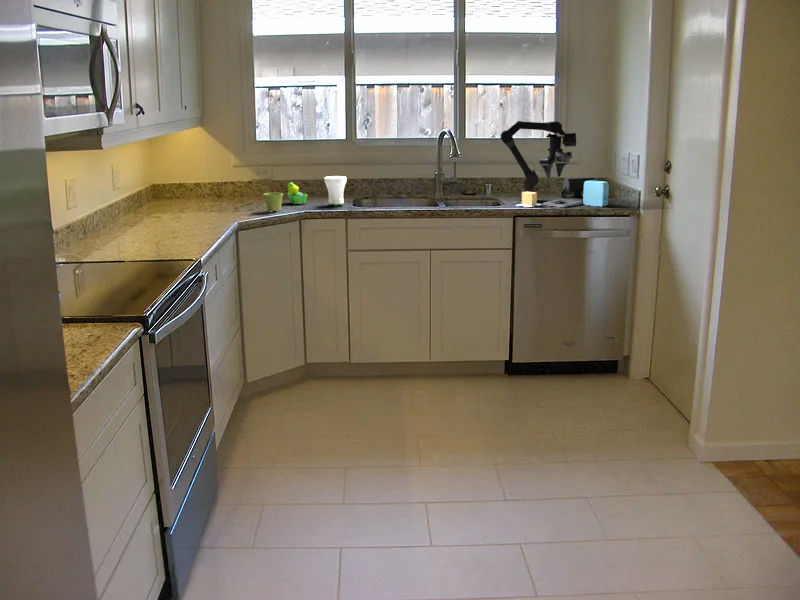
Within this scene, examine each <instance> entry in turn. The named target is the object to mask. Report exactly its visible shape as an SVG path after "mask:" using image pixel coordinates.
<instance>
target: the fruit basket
mask: <svg viewBox="0 0 800 600" xmlns="http://www.w3.org/2000/svg"><path fill="white" fill-rule="evenodd" d="M287 191H288V193H287V196H288V199H289V202H290V203H291V202H292V203H295V204H299V203H305V204H307V203H306V202H307V197H308V194H307V193H303V192H300V191H299V186H297V185H296V184H294V183H293V182H288V183H287ZM292 203H291V204H292ZM295 204H294V205H295Z"/></svg>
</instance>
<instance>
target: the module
mask: <svg viewBox="0 0 800 600" xmlns="http://www.w3.org/2000/svg"><path fill="white" fill-rule="evenodd" d="M535 192H536V191H535ZM535 192H522V191H521V197H522V201H521V204H522V205H530V206H533V205H537V204H538V203H537V201H538V200H537V199H538V197H537V195H538V192H536V193H535Z"/></svg>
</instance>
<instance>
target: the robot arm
mask: <svg viewBox="0 0 800 600" xmlns="http://www.w3.org/2000/svg"><path fill="white" fill-rule="evenodd" d="M520 130H531V131H532V130H536V131H544V132H548V134H547V135H546V136H545V137H546V138H547V139H548V138H549V148H547V151H548V156H547V157H546V158H545V157H543V158H540V159H539V163H538V164H539V165H540V166H541V167H542V168H543V171H544V173H545V176H546V178H547V179H550V178H551V173H552V168H553V167H554V163H555V168H556V174H557V177H558V178H559V177H561V175H562V172H563V170H564V168H565V166H566V165H567V164H569V163H570V160H571V159H572V158H573V157H572V156H573V152H572V151H567V152H564V149H563V148H562V145H563V146H564V148H565V147H568V148H569V147H570V148H571V147H572V148H575V147H577V133H576V132H571V133H568V132H565V131H564V130H563V124H562V123H561V122H560V121H557V120H556V121H555V120H554V121H547V122H537V121H535V122H534V121H524V120H517V121H515V123H514V124H513V125H512V126H510V127H509V128H508V129H507V130H506V129H505V130H503V131H501V133H500V140H501V141H502V142H503V143H504V145H505V146H506V147H507V148H508V149H509V150H510V152H511V154H512V155H513V157H514V159H515V160H516V162H517V164H518V165H519V167H520V168H521V170H522V172H523V175H524V178H525V181H524V182H523V183H522V187H523V188H521V193H522V192H535V193H537V192H536V189H535V187H536V186H537V185H538V184H539V175H538V174H537V173H536V171H535V169H531V168H530V167H529V165H528V163H527V161H526V160H525V159H524V156H523V155H522V153H521V152H520V150H519V148H518V147H517V145H516V142H515V140H514V137H513V136H514V135H516V133H518V132H519V131H520ZM552 133H553V134H552ZM558 134H559V135H558ZM520 197H521V199H519V201H521V202H522V196H520Z"/></svg>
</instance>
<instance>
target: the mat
mask: <svg viewBox="0 0 800 600" xmlns="http://www.w3.org/2000/svg"><path fill="white" fill-rule="evenodd" d="M539 205H542V206H543V204H541V203H537V205H533V206H530V205H522V203H519V204H515V207H519V206H523V207H522V208H527V207H533V208H535V207H534V206H538V207H540V206H539Z"/></svg>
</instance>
